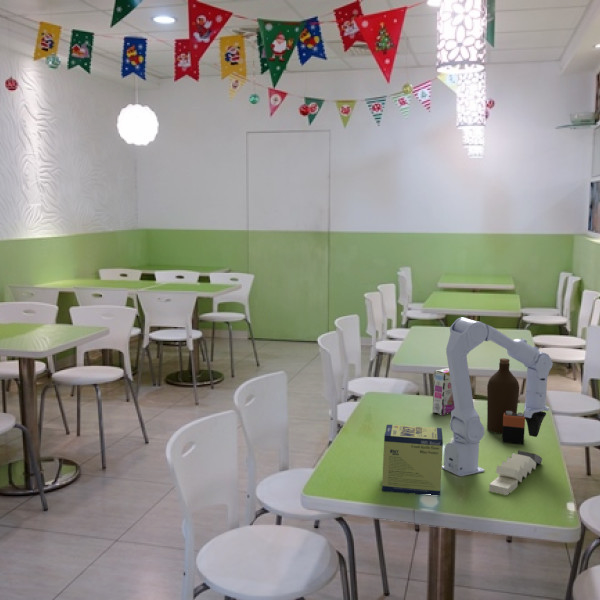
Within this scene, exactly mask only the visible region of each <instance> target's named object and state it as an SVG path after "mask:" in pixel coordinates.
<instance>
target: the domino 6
mask: <svg viewBox="0 0 600 600" xmlns="http://www.w3.org/2000/svg"><path fill="white" fill-rule="evenodd" d="M517 454H519V455H524V456H529V457H531V458H532V459H533V460H534V461H535V462H536V465H537V464H538V465H542V462H543V461H542V460H543V457H542V456H540V455H538V454H536V453H533V452H528V451H523V450H517Z"/></svg>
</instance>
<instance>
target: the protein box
mask: <svg viewBox="0 0 600 600" xmlns="http://www.w3.org/2000/svg"><path fill="white" fill-rule="evenodd" d="M383 438H384V440H383V459H382V460H383V461H382V481H381V486H382V487H381V491H382V492H389V493H398V494H399V493H400V494H409V493H415V494H414V495H420V494H431V495H440V496H441V487H442V486H441V485H442V470H443V468H442V466H443V449H444V447H443V446H444V445H443V444H444V440H443V438H444V437H443V428H442V427H430V426H415V425H401V424H400V425H399V424H386V428H385V432H384V437H383ZM431 495H430V496H431Z"/></svg>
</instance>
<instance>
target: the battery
mask: <svg viewBox="0 0 600 600" xmlns="http://www.w3.org/2000/svg"><path fill="white" fill-rule="evenodd" d="M525 426H526V419H525V417H524V415H523V412H517V414H516V413H512V411H506V413H504V415H503V432H502V434H501V442H502V443H507V444H513V443H514V444H515V445H524V444H525V443H524V442H525V430H526V427H525Z"/></svg>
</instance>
